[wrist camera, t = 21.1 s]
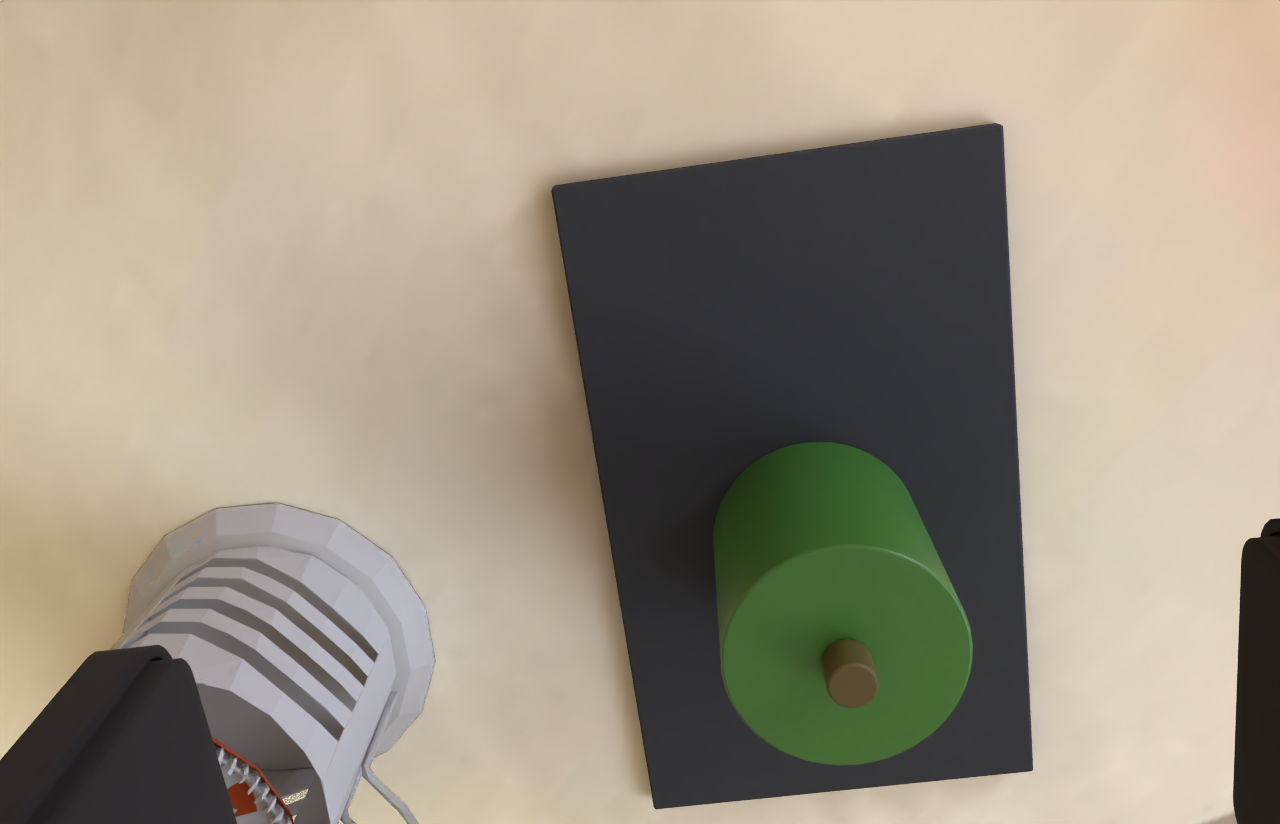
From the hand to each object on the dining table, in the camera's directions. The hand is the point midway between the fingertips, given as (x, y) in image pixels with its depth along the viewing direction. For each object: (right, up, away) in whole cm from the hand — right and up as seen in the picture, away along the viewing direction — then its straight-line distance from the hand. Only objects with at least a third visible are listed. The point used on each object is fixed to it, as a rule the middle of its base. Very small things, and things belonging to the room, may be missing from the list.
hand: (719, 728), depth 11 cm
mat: (+4, 0, +25) cm, 25 cm away
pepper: (+4, -1, +25) cm, 25 cm away
